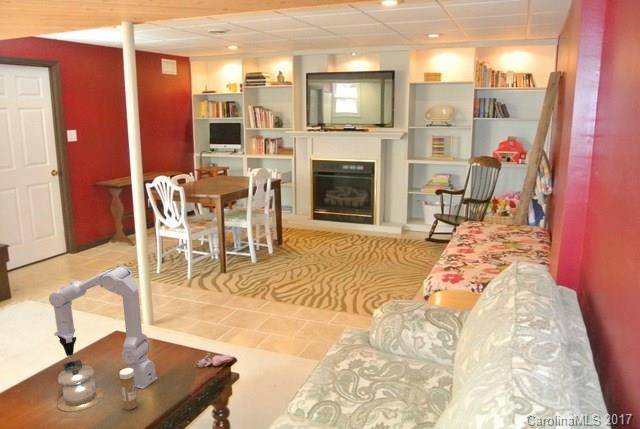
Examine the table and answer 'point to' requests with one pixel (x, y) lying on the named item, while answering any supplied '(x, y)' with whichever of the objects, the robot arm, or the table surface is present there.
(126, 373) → the sprinkles bottle
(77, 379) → the cooker lid
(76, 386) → the cooker pot
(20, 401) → the table surface
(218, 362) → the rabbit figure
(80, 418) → the table surface
